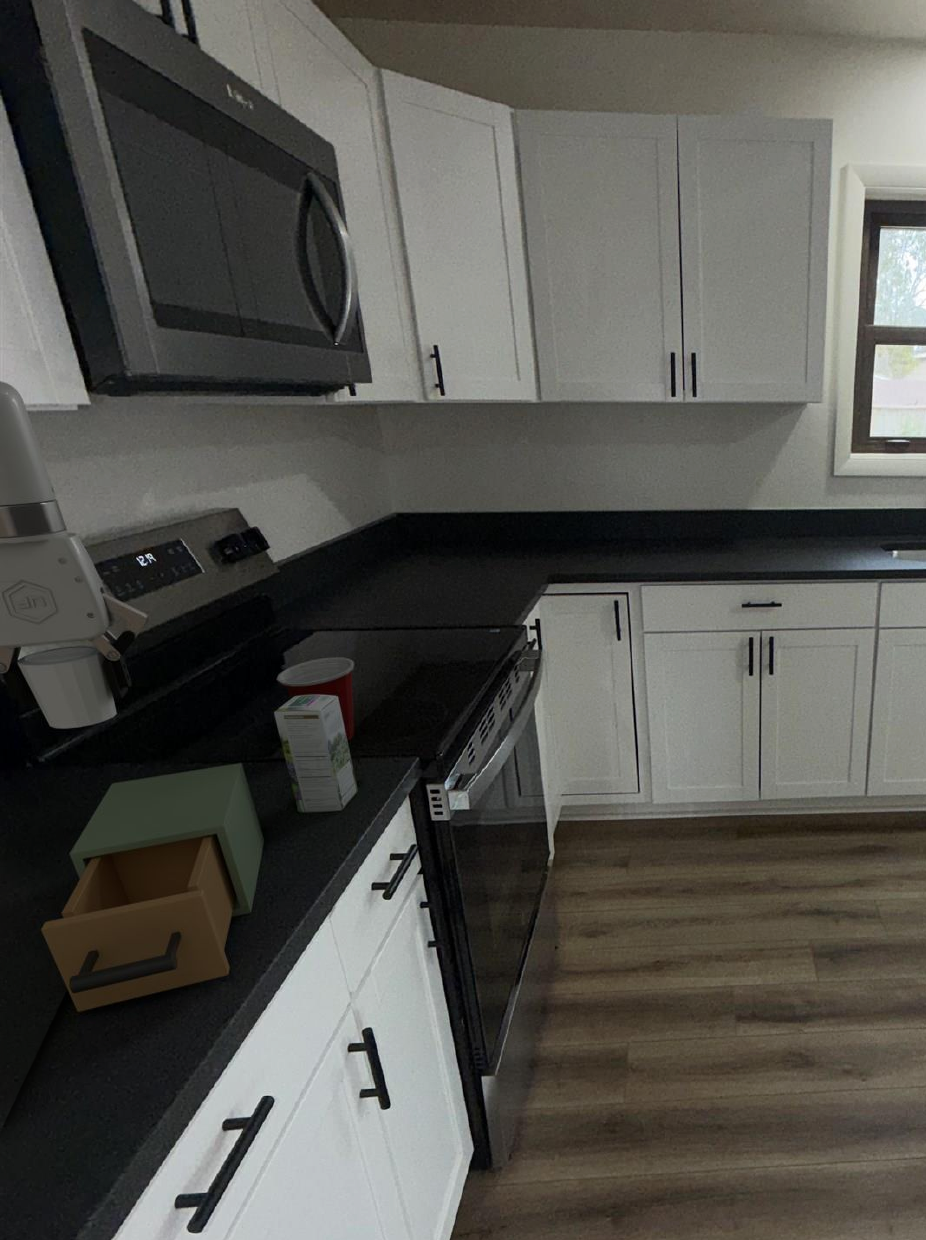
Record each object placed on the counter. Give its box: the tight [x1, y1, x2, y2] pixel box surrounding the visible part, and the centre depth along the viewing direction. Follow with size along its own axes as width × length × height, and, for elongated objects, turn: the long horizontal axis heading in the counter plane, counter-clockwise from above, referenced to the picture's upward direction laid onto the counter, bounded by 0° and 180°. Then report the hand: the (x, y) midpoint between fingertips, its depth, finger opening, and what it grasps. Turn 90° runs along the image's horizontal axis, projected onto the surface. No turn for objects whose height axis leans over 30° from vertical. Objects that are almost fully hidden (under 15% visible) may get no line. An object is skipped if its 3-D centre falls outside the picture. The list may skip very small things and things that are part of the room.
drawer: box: [40, 834, 236, 1013], centre depth 74 cm, size 20×11×9 cm, turn 25°
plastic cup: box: [276, 656, 355, 741], centre depth 125 cm, size 11×11×12 cm
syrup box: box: [273, 695, 359, 814], centre depth 104 cm, size 6×6×14 cm
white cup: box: [17, 645, 118, 729], centre depth 82 cm, size 7×7×7 cm
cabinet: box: [69, 762, 265, 918], centre depth 87 cm, size 17×13×11 cm
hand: (76, 698), depth 82 cm, fingers closed on white cup, 6 cm apart
